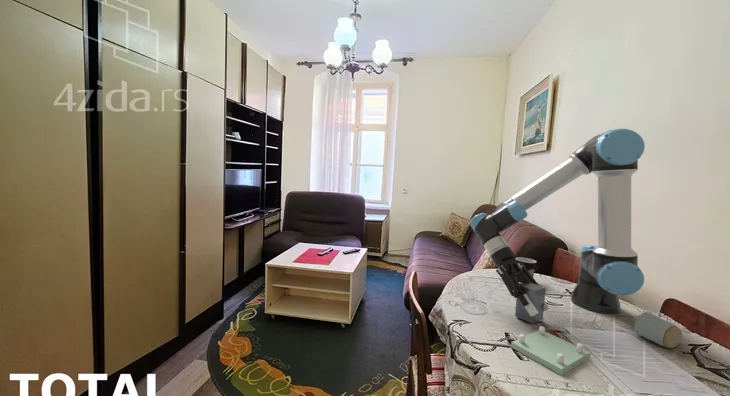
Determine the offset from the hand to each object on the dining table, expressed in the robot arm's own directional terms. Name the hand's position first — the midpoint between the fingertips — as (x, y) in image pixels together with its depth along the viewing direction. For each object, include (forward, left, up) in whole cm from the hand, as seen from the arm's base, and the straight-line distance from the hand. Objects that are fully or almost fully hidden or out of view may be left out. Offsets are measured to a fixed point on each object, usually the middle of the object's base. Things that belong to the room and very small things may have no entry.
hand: (540, 312), depth 97 cm
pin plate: (+14, +10, -4) cm, 18 cm away
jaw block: (0, -4, -4) cm, 5 cm away
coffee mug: (-37, -26, -4) cm, 45 cm away
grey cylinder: (-24, +23, -4) cm, 33 cm away
